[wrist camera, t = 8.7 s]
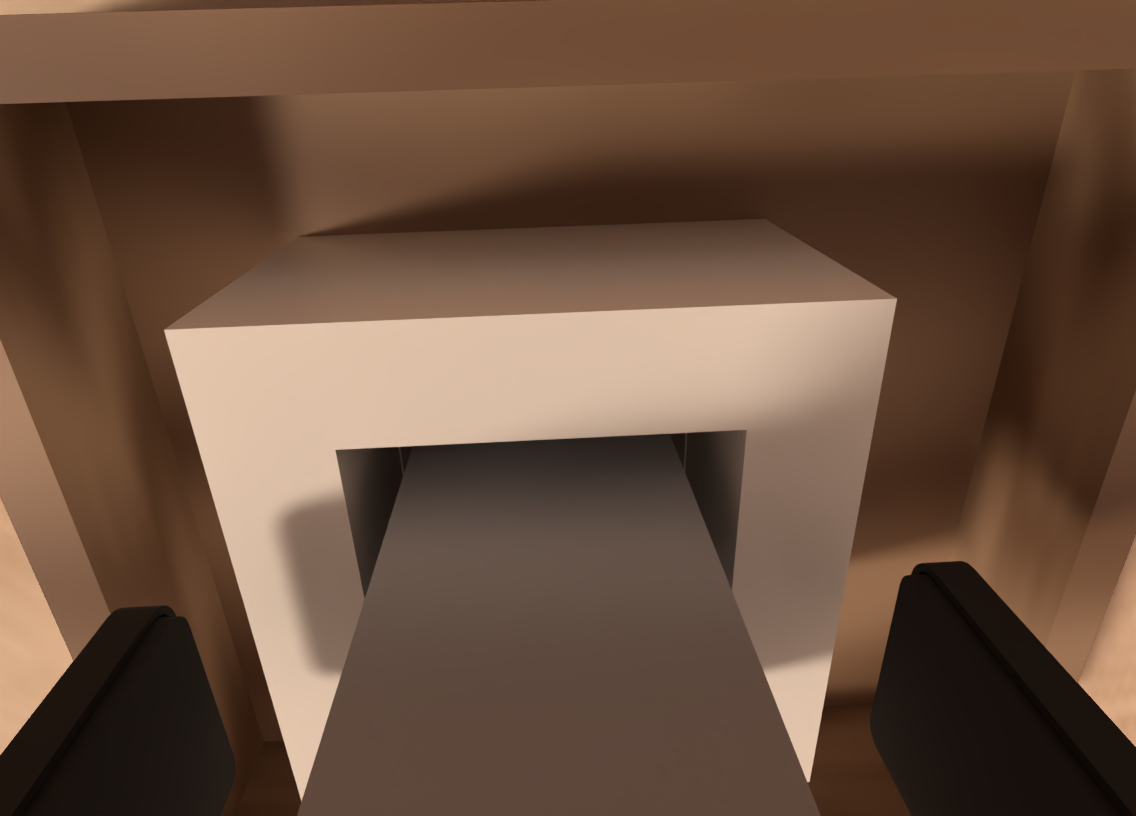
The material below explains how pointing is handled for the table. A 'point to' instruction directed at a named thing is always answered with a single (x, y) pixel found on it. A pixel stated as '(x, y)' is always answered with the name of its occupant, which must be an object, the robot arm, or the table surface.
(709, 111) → the crate
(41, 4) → the table surface
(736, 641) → the plug
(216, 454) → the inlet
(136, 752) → the robot arm
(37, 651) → the table surface
